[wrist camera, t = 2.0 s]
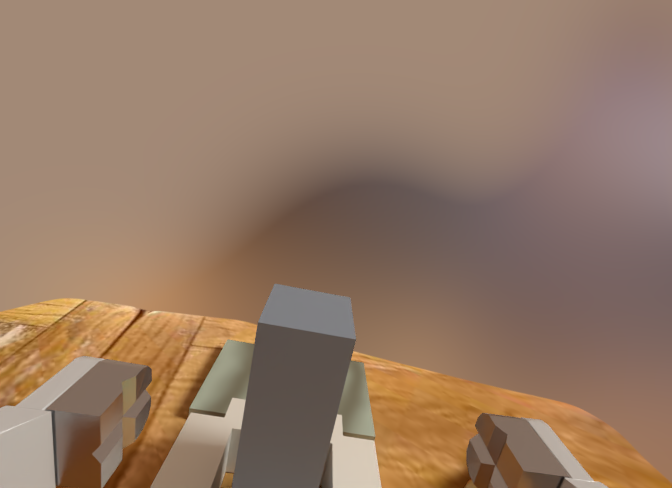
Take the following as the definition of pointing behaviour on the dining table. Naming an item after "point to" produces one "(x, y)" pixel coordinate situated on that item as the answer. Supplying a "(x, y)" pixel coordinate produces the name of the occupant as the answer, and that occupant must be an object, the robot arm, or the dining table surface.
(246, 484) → the slate box
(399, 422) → the dining table surface
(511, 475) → the robot arm
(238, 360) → the sage board
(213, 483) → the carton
